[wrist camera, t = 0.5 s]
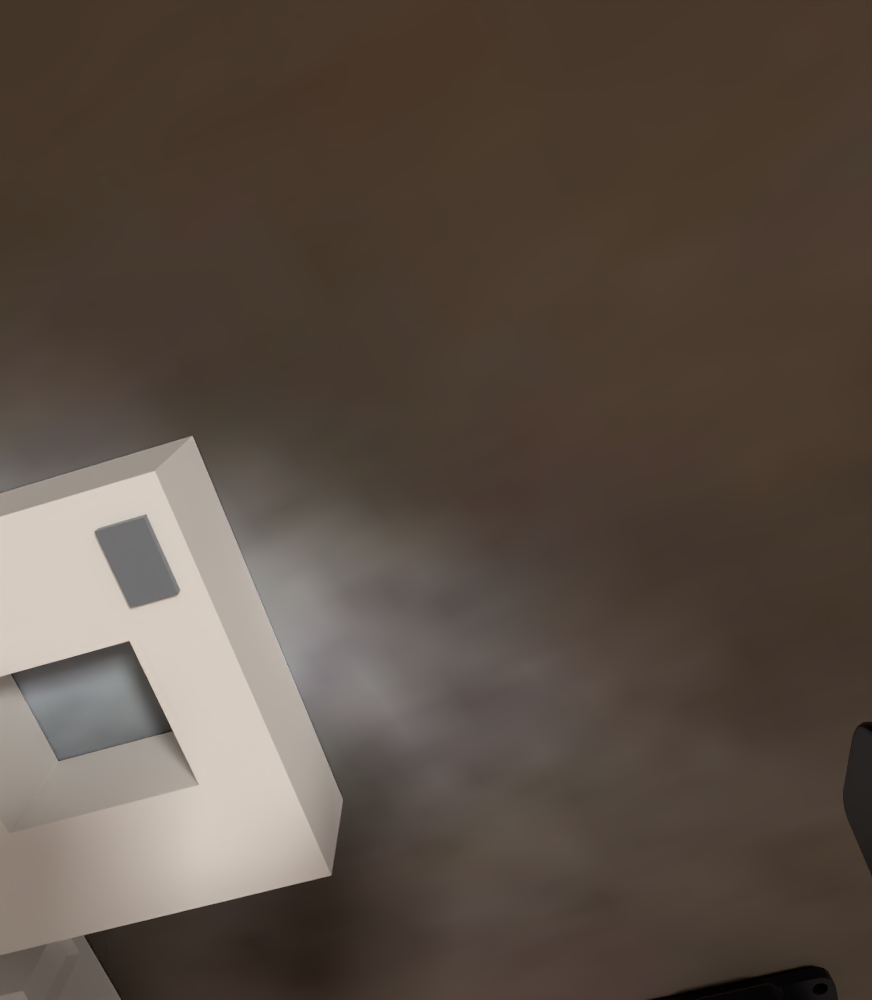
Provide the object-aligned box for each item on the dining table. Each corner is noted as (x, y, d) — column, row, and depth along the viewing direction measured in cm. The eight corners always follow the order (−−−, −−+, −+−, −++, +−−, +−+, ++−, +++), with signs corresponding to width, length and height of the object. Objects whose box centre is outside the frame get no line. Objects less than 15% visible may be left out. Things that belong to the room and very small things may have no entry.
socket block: (343, 799, 25) (330, 881, 22) (44, 874, 26) (-7, 962, 23) (192, 435, 21) (152, 473, 18) (-152, 538, 22) (-246, 591, 19)
